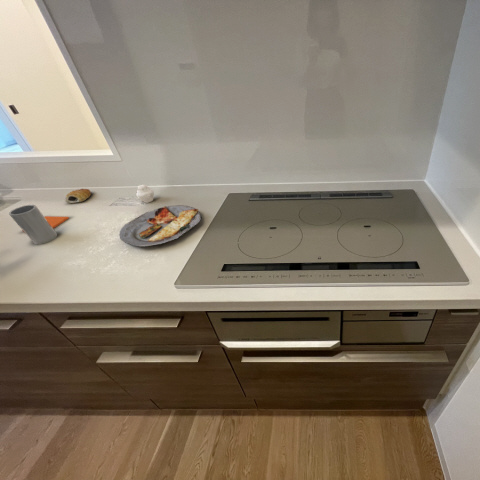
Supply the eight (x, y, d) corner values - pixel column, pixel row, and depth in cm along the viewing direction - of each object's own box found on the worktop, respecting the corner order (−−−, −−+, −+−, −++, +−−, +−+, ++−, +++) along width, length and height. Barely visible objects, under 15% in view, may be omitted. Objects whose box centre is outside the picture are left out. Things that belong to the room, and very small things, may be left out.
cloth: (23, 231, 91) (22, 230, 90) (46, 217, 98) (45, 216, 98) (47, 232, 90) (46, 230, 90) (69, 218, 98) (68, 216, 97)
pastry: (79, 193, 113) (74, 185, 111) (96, 192, 114) (91, 184, 112) (66, 204, 106) (60, 195, 104) (84, 203, 107) (78, 194, 104)
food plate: (166, 205, 104) (163, 197, 101) (215, 215, 97) (213, 207, 95) (106, 242, 85) (100, 233, 83) (162, 257, 78) (158, 248, 76)
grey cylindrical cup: (28, 243, 85) (3, 214, 79) (45, 232, 90) (22, 204, 83) (46, 244, 85) (22, 215, 78) (62, 233, 90) (40, 204, 83)
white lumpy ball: (136, 202, 106) (129, 186, 102) (151, 196, 110) (144, 180, 106) (145, 206, 104) (137, 189, 99) (160, 199, 108) (153, 183, 104)
